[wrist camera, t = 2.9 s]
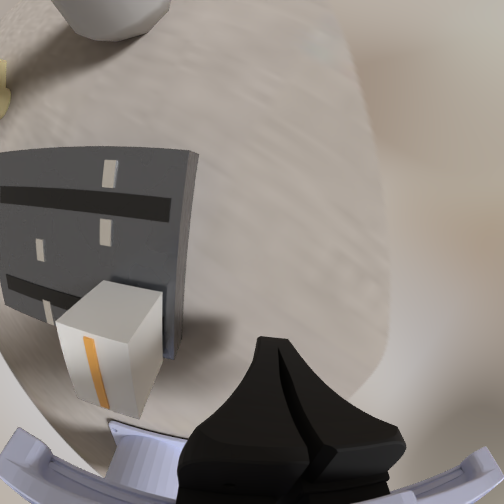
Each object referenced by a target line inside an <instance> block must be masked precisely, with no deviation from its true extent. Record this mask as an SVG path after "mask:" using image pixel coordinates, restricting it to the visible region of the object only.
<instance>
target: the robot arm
mask: <svg viewBox="0 0 504 504" xmlns="http://www.w3.org/2000/svg"><path fill="white" fill-rule="evenodd" d="M109 427H110V430H111V433H112V435H113V438H114V440H115V443H116V445H117V448H116V451H115V453H114V456H113V458H112V461H111V463H110V466H109V468H108V471H107V474H106V476H105V478H102V477H99V476H97V475H95V474H92V473H90V472H87V471H85V470H83V469H81V468H78V467H76V466H74V465H72V464H70V463H68V462H66V461H64V460H62V459H60V458H58V457H57V456H54V455H53V454H52V452H51V450H50V449H49V447H48V446H47V445H46V444H44V443H43V442H42V441H41V440H39V439H38V438H36V437H35V436H33V435H31V434H29V433H28V432H26V431H25V430H23V429H22V428H20V427H18V428H17V430H16V431H15V432H14V434H13V435H12V437H11V439H10V440H9V442H8V443H7V445H6V446H5V448H4V449H3V451H2V452H1V454H0V479H2V480H3V481H4V482H5V483H6V484H7V485H8V486H9V487H11V488H12V489H13V490H14V491H15V492H17V493H18V494H19V495H20V496H21V497H23V498H24V499H25V500H27V501H28V502H30V503H31V504H473V503H475V502H476V501H478V500H479V499H480V498H481V497H483V496H484V495H485V494H487V493H488V492H489V491H490V490H492V489H493V488H494V487H495V486H496V485H497V484H499V483H500V482H501V481H502V480H503V479H504V475H503V473H502V471H501V470H500V468H499V467H498V465H497V463H496V461H495V460H494V458H493V457H492V455H491V453H490V452H489V450H488V449H487V447H486V446H484V447H482V448H480V449H479V450H477V451H475V452H473V453H472V454H470V455H469V456H468V457H466V458H465V459H464V460H463V461H462V462H461V464H460V465H458V466H456V467H454V468H452V469H450V470H447V471H445V472H443V473H440V474H438V475H436V476H433V477H431V478H429V479H426V480H423V481H421V482H418V483H415V484H412V485H409V486H406V487H403V488H400V489H397V490H394V491H389V488H388V485H387V483H386V481H388V480H389V474H388V470H389V469H390V468H391V467H392V466H393V465H394V464H395V463H396V462H397V461H398V460H399V459H400V458H401V456H402V455H403V454H404V452H405V450H406V443H405V441H404V439H403V437H402V435H401V433H400V431H399V429H398V427H397V426H394V425H392V424H389V423H387V422H384V421H382V420H379V419H377V418H375V417H373V416H371V415H369V414H367V413H365V412H363V411H362V410H360V409H358V408H356V407H355V406H353V405H352V404H350V403H349V402H347V401H346V400H344V399H343V398H342V397H340V396H339V395H338V394H337V393H335V392H334V391H333V390H332V389H331V388H330V387H328V386H327V385H326V384H325V383H324V382H323V381H322V380H321V379H320V378H319V377H318V376H317V375H316V374H315V373H314V372H313V370H312V369H311V368H310V367H309V366H308V365H307V363H306V362H305V361H304V360H303V358H302V357H301V356H300V354H299V353H298V352H297V350H296V349H295V348H294V346H293V345H292V344H291V342H290V341H289V340H288V339H282V338H272V337H263V336H260V337H258V338H257V343H256V348H255V352H254V357H253V361H252V363H251V365H250V367H249V369H248V371H247V373H246V375H245V376H244V378H243V380H242V381H241V383H240V384H239V386H238V387H237V388H236V390H235V391H234V392H233V394H232V395H231V396H230V397H229V398H228V400H227V401H226V402H225V403H224V404H223V405H222V406H221V407H220V408H219V409H218V410H217V411H216V412H215V413H214V414H212V415H211V416H210V417H209V418H208V419H206V420H205V421H204V422H202V423H201V424H200V425H198V426H197V427H196V428H195V430H194V431H193V433H192V434H191V436H190V437H189V439H188V440H185V439H180V438H175V437H170V436H166V435H162V434H157V433H153V432H150V431H146V430H142V429H138V428H135V427H132V426H128V425H125V424H122V423H119V422H116V421H110V422H109Z"/></svg>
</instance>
